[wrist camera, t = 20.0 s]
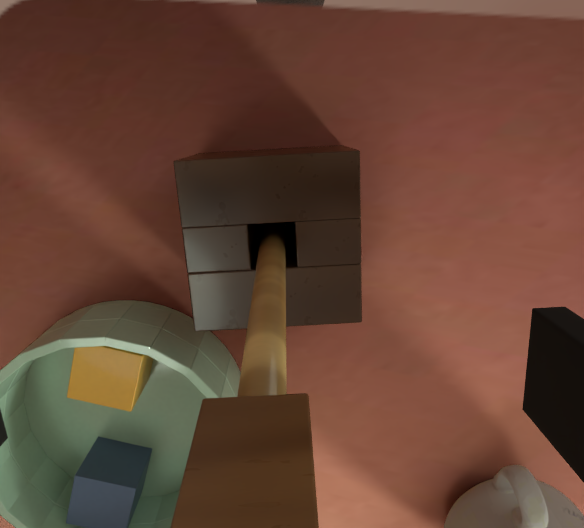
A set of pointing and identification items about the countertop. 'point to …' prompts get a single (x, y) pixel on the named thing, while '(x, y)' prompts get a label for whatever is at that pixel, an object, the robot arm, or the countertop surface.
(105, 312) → the bowl
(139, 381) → the mustard block
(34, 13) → the countertop surface
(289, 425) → the brown wooden peg
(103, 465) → the slate block
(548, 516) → the teacup
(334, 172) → the holder
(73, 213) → the countertop surface
